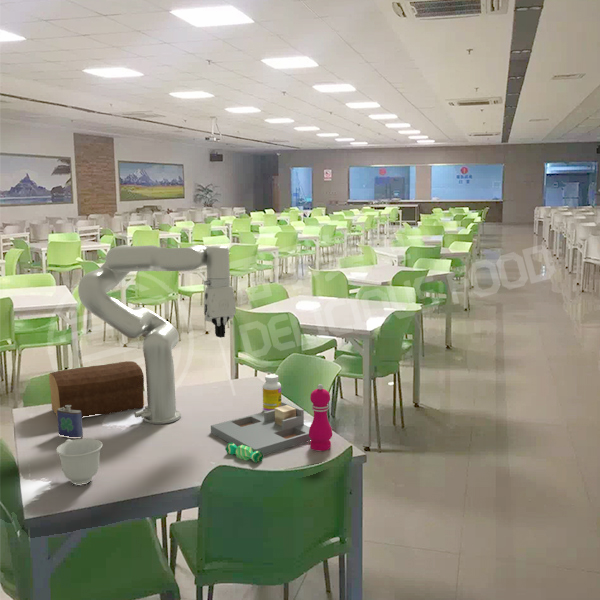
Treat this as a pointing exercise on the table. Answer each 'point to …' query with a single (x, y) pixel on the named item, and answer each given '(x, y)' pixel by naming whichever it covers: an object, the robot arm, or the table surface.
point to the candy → (244, 452)
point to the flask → (69, 422)
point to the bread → (98, 388)
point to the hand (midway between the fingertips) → (220, 336)
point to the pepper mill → (320, 420)
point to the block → (284, 413)
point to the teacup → (80, 459)
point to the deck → (264, 431)
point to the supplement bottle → (271, 393)
